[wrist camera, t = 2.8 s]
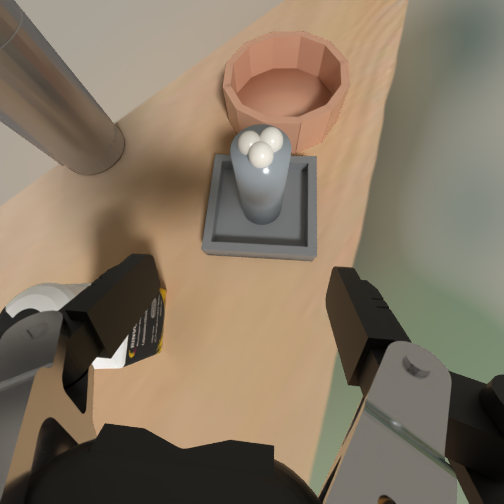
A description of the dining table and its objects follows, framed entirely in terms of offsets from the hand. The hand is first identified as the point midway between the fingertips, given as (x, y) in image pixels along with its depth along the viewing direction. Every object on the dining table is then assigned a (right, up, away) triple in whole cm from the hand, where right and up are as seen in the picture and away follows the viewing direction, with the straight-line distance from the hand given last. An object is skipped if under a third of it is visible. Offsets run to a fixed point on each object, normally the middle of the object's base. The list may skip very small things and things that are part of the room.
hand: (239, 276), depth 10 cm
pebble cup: (+2, +7, +17) cm, 19 cm away
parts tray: (+2, +7, +18) cm, 20 cm away
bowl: (+5, +23, +23) cm, 33 cm away
